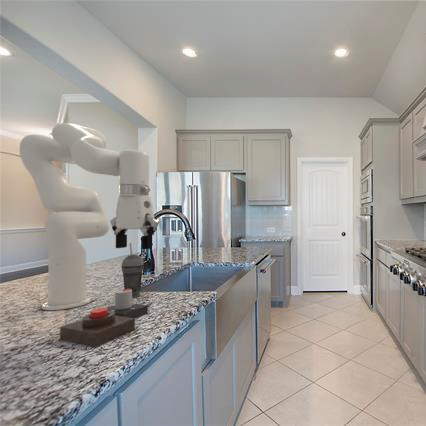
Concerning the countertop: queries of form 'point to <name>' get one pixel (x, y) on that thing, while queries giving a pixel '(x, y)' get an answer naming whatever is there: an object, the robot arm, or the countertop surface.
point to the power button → (99, 313)
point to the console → (130, 310)
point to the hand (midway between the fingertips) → (133, 248)
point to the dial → (123, 299)
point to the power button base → (97, 329)
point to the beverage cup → (132, 273)
